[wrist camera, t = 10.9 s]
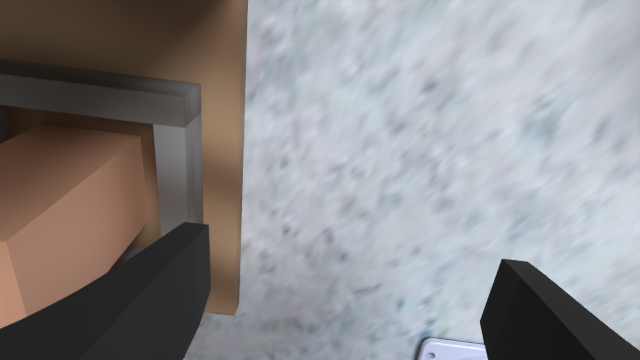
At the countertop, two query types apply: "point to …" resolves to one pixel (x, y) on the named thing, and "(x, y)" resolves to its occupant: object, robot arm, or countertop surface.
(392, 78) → the countertop surface
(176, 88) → the socket stand
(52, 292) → the peg
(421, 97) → the countertop surface
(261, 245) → the countertop surface
